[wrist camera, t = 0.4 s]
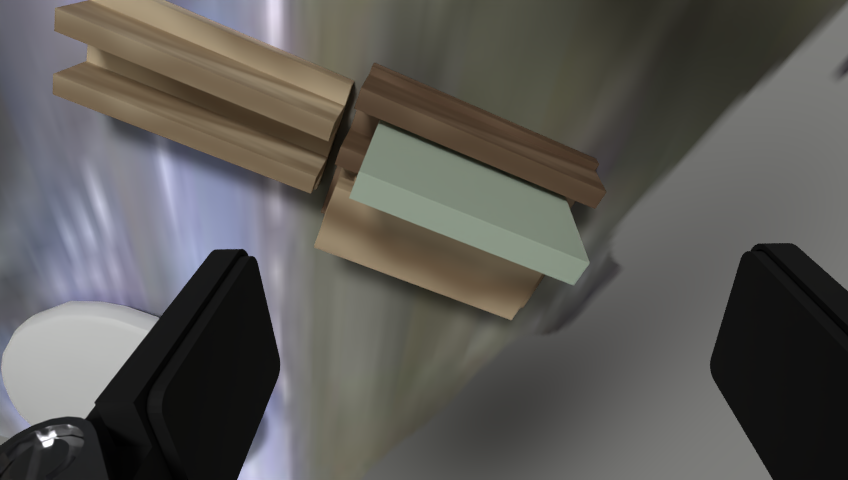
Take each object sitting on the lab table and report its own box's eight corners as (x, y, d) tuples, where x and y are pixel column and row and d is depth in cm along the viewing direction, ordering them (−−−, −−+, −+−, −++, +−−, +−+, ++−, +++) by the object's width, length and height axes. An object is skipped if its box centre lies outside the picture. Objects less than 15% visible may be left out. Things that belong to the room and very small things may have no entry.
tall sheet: (384, 109, 42) (359, 171, 32) (560, 183, 45) (589, 263, 34) (375, 131, 43) (348, 198, 33) (548, 202, 46) (573, 285, 35)
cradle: (101, -27, 39) (55, -20, 35) (354, 81, 42) (341, 100, 38) (93, 95, 44) (52, 115, 40) (319, 184, 47) (304, 211, 43)
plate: (-25, 428, 62) (8, 273, 49) (20, 389, 68) (60, 241, 55) (190, 535, 66) (271, 415, 53) (215, 489, 71) (294, 371, 59)
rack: (374, 62, 41) (360, 85, 36) (596, 158, 44) (615, 193, 39) (323, 206, 48) (305, 244, 43) (518, 280, 51) (524, 325, 46)
